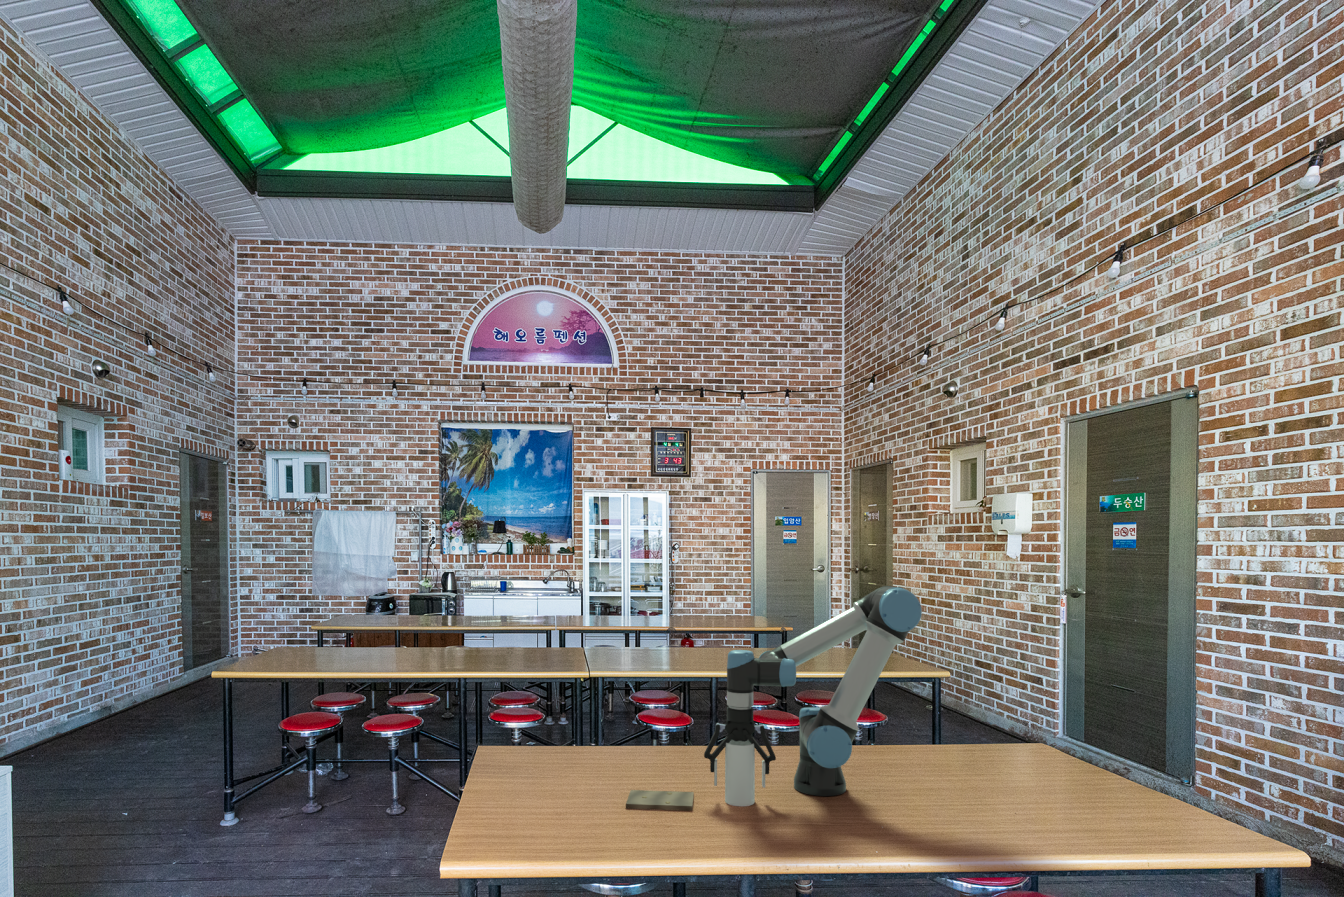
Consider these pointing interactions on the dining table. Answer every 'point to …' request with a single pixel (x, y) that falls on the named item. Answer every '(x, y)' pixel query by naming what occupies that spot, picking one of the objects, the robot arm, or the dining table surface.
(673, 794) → the board
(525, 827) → the dining table surface
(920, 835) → the dining table surface
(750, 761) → the cup
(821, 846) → the dining table surface
